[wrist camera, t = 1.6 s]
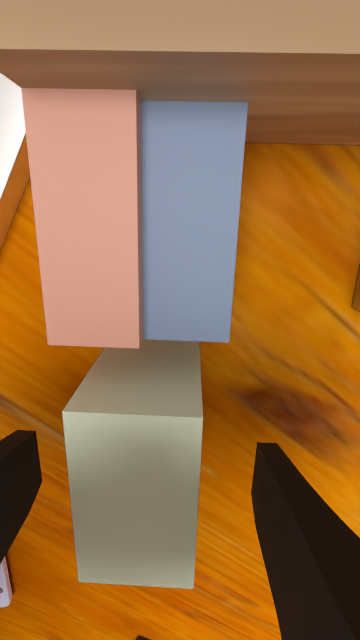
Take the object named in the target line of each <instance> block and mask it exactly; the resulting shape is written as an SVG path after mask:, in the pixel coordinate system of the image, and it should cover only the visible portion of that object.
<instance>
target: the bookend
mask: <svg viewBox="0 0 360 640" xmlns="http://www.w3.org/2000/svg"><path fill="white" fill-rule="evenodd" d="M352 308H354V309H355V310H357V311H359V312H360V267H359V272H358V277H357V282H356V287H355V293H354V298H353V303H352Z"/></svg>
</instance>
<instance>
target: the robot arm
mask: <svg viewBox="0 0 360 640" xmlns="http://www.w3.org/2000/svg"><path fill="white" fill-rule="evenodd" d="M41 483H42V476H41V468H40V461H39V453H38V445H37V438H36V431H25V430H17V431H15V432H13V433H12V434H10V435H9V436H7V437H5V438H4V439H2V440H1V441H0V607H6V606H8V605H9V604H10V602H11V600H12V597H13V595H12V590H11V585H10V579H9V574H8V569H7V563H6V558H5V555H6V553H7V552H8V550H9V548H10V546H11V545H12V543H13V541H14V539H15V537H16V536H17V534H18V532H19V530H20V528H21V527H22V525H23V523H24V521H25V519H26V518H27V516H28V514H29V512H30V509H31V507H32V505H33V502H34V500H35V498H36V495H37V493H38V490H39V488H40V485H41ZM251 495H252V502H253V510H254V518H255V525H256V530H257V534H258V538H259V542H260V547H261V551H262V555H263V559H264V563H265V567H266V571H267V575H268V580H269V584H270V588H271V592H272V596H273V600H274V604H275V608H276V613H277V617H278V622H279V627H280V632H281V638H282V640H360V538H359V537H358V536H357V535H356V534H355V533H354V532H353V531H352V530H351V529H350V528H349V527H348V526H347V525H346V524H345V523H344V522H343V521H342V520H341V519H340V518H339V517H338V515H337V514H336V513H335V512H334V511H333V510H332V509H331V508H330V507H329V506H328V505H327V504H326V502H325V501H324V500H323V499H322V498H321V497H320V496H319V494H318V493H317V492H316V491H315V490H314V489H313V487H312V486H311V485H310V484H309V483H308V482H307V480H306V479H305V478H304V477H303V476H302V474H301V473H300V472H299V471H298V469H297V468H296V467H295V466H294V464H293V463H292V462H291V461H290V459H289V458H288V457H287V455H286V454H285V453H284V452H283V450H282V449H281V448H280V447H279V445H278V444H277V443H261V442H257V449H256V458H255V466H254V475H253V483H252V491H251Z"/></svg>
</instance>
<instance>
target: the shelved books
mask: <svg viewBox="0 0 360 640" xmlns="http://www.w3.org/2000/svg"><path fill="white" fill-rule="evenodd" d="M21 91H22V101H23V111H24V120H25V130H26V139H27V149H28V159H29V168H30V178H31V187H32V197H33V207H34V216H35V226H36V235H37V245H38V255H39V264H40V274H41V283H42V293H43V303H44V312H45V322H46V331H47V341H48V345H62V346H87V347H112V348H137V349H139V348H140V345H141V343H142V340H143V339H150V340H176V341H201V342H227V343H229V340H230V327H231V314H232V302H233V289H234V276H235V263H236V250H237V237H238V225H239V212H240V199H241V186H242V173H243V160H244V148H245V135H246V122H247V109H248V102H195V101H141V100H140V97H139V95H138V93H137V91H136V90H112V89H54V88H21Z"/></svg>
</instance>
